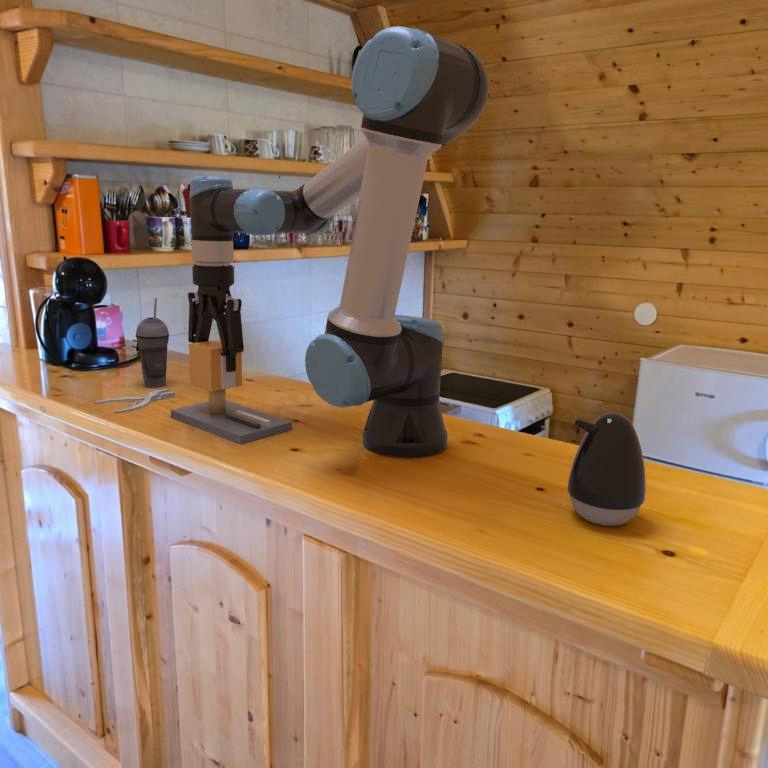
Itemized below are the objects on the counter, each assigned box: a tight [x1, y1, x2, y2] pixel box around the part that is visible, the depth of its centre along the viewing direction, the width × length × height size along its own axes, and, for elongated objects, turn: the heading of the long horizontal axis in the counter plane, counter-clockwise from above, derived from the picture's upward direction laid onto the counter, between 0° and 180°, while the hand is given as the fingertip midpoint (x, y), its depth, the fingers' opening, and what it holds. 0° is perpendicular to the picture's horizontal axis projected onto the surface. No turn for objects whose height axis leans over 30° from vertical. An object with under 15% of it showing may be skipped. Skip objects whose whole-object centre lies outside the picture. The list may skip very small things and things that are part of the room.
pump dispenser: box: [567, 412, 647, 527], centre depth 94 cm, size 10×10×15 cm
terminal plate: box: [170, 389, 293, 445], centre depth 132 cm, size 22×12×6 cm, turn 49°
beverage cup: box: [135, 297, 170, 388], centre depth 156 cm, size 7×7×20 cm
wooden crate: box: [188, 338, 243, 392], centre depth 133 cm, size 7×7×8 cm
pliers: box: [93, 388, 176, 414], centre depth 145 cm, size 10×2×15 cm
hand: (216, 383), depth 134 cm, fingers closed on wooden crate, 7 cm apart
